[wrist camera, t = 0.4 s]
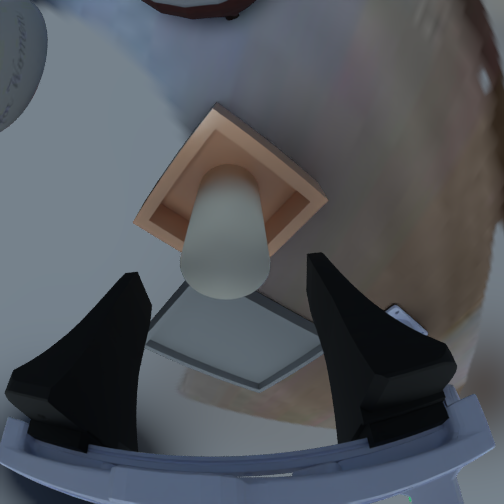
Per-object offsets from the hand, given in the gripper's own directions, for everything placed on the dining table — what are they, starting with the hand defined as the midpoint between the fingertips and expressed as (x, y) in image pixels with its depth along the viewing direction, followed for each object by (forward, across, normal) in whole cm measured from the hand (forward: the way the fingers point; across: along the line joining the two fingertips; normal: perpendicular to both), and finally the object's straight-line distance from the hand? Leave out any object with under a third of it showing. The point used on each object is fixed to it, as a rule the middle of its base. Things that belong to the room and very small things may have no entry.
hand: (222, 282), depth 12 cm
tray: (+9, +1, +16) cm, 18 cm away
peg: (+9, 0, 0) cm, 9 cm away
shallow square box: (+9, 0, 0) cm, 9 cm away
